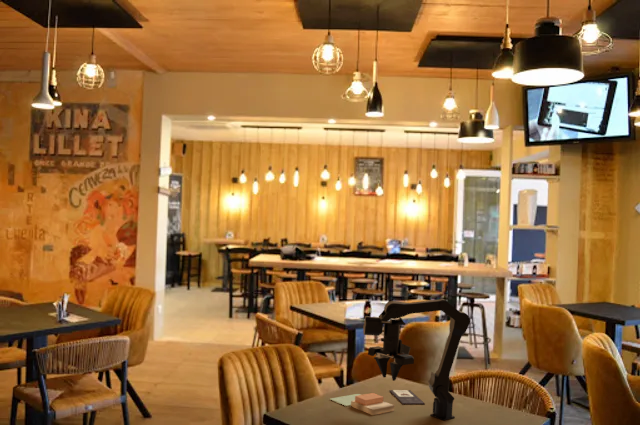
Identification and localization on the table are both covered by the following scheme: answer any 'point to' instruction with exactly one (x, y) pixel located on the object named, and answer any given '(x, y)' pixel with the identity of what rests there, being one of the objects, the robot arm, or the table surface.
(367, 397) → the salmon orange rectangular block
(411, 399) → the chocolate bar
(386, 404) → the beige square slab
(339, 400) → the mat
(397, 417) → the table surface
